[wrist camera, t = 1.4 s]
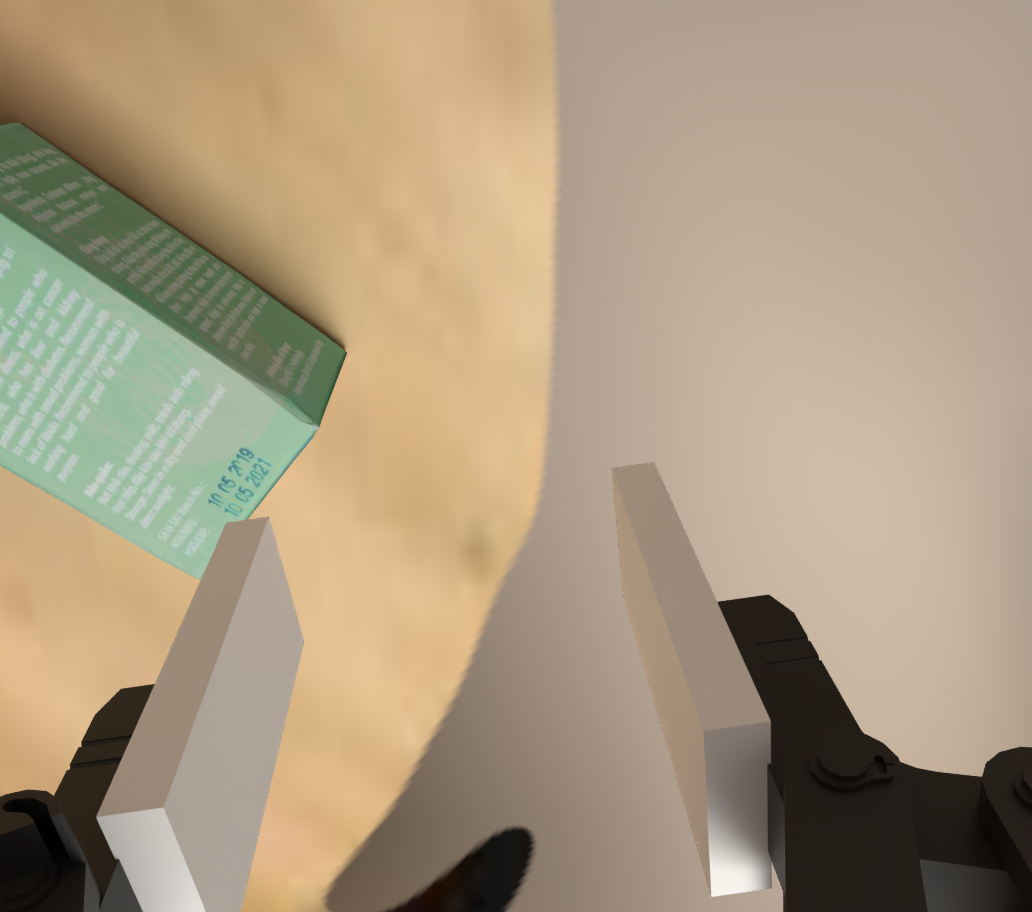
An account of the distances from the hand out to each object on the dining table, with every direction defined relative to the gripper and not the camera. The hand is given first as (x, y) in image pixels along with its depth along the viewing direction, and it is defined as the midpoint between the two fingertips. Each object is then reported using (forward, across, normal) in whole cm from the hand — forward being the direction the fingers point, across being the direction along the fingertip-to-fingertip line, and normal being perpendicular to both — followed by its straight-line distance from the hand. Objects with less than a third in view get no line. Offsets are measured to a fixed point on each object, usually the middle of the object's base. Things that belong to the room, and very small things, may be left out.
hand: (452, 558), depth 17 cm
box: (+19, -11, 0) cm, 22 cm away
